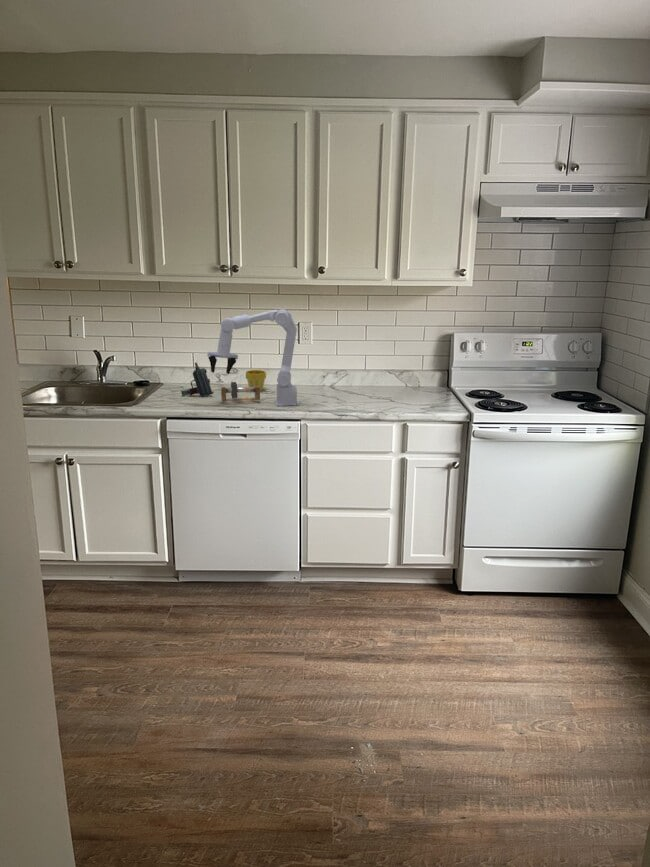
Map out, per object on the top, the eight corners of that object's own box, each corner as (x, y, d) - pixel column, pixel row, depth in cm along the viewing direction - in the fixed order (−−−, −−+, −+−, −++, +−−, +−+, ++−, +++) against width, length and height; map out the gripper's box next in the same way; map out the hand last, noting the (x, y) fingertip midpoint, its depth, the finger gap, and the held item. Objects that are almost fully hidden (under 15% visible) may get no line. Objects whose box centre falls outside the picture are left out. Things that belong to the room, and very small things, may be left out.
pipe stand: (258, 399, 310) (258, 385, 308) (260, 402, 305) (260, 387, 303) (221, 401, 307) (220, 386, 304) (222, 404, 301) (221, 389, 299)
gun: (174, 367, 312) (203, 360, 312) (184, 400, 317) (213, 392, 317) (173, 369, 310) (202, 361, 309) (184, 401, 315) (213, 393, 314)
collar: (236, 394, 307) (235, 381, 306) (237, 398, 301) (237, 384, 300) (231, 395, 307) (230, 382, 305) (232, 398, 301) (231, 385, 299)
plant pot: (264, 392, 324) (264, 374, 321) (244, 392, 324) (244, 373, 322) (267, 388, 334) (267, 369, 331) (247, 387, 334) (247, 369, 331)
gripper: (235, 343, 301) (231, 371, 305) (206, 340, 293) (202, 369, 297) (241, 347, 296) (237, 375, 300) (212, 344, 288) (208, 373, 292)
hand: (220, 372), depth 298 cm, fingers open, 7 cm apart
